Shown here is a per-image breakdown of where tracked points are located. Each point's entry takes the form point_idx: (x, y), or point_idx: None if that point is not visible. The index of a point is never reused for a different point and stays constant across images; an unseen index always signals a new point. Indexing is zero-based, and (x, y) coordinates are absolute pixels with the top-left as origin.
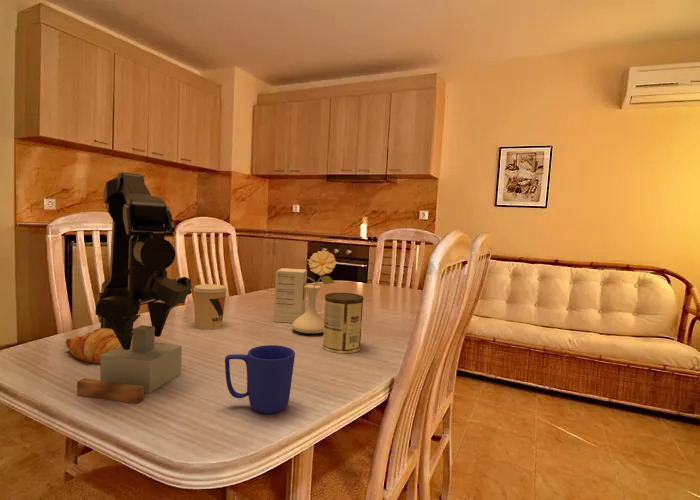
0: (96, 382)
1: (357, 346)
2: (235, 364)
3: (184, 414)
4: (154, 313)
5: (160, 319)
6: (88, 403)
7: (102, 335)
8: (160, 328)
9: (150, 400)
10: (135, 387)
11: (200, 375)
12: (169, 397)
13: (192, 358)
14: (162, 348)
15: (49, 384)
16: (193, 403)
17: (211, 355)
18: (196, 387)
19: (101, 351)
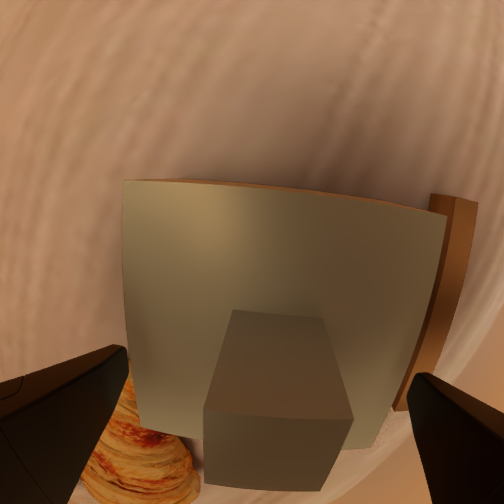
0: (429, 363)
1: None
2: (68, 52)
3: (467, 52)
4: (50, 484)
5: (55, 419)
6: (450, 329)
7: (139, 501)
8: (96, 372)
9: (429, 171)
10: (467, 221)
11: (180, 97)
12: (399, 119)
13: (44, 220)
14: (212, 265)
15: (337, 461)
16: (412, 40)
17: (14, 174)
18: (298, 61)
19: (179, 470)
